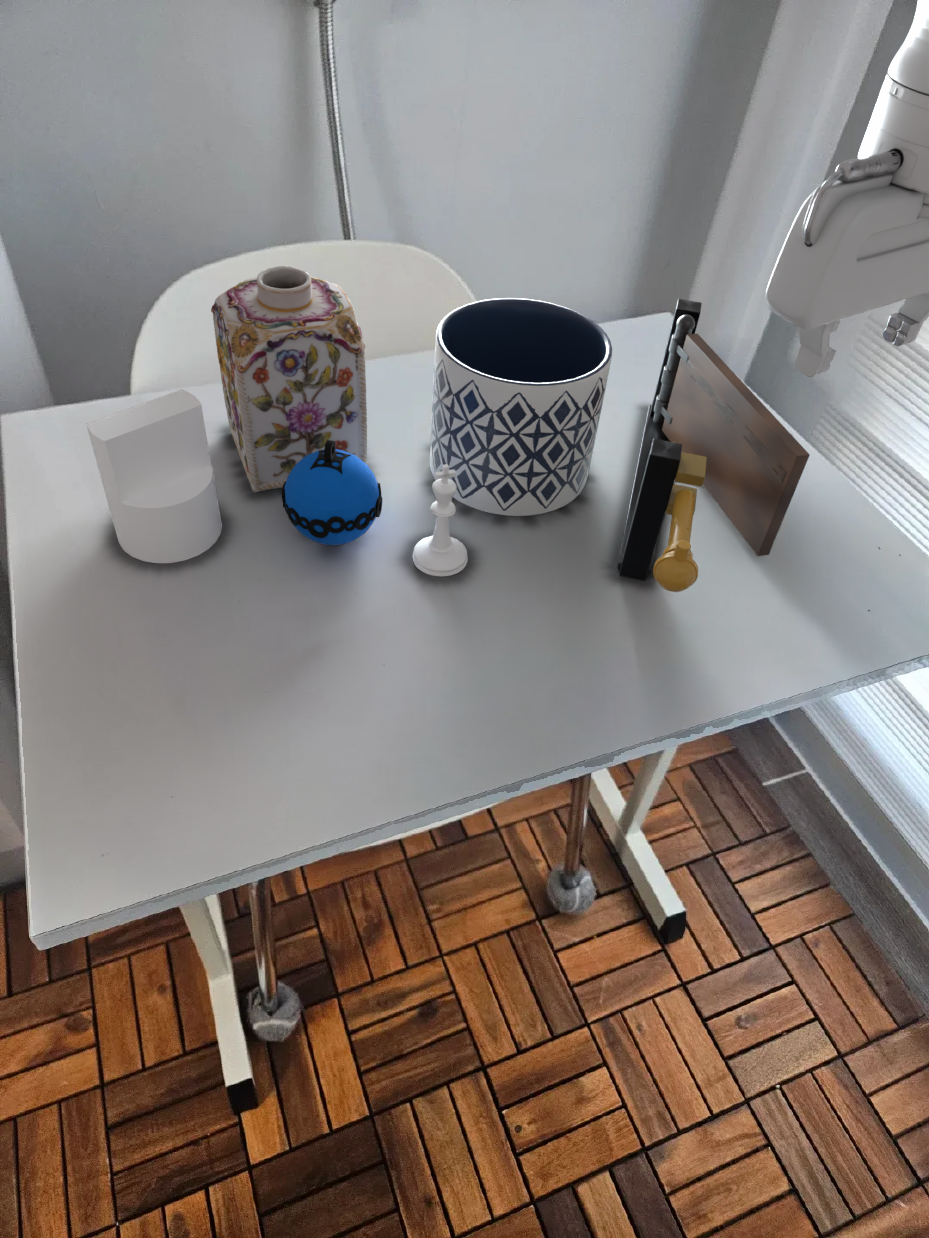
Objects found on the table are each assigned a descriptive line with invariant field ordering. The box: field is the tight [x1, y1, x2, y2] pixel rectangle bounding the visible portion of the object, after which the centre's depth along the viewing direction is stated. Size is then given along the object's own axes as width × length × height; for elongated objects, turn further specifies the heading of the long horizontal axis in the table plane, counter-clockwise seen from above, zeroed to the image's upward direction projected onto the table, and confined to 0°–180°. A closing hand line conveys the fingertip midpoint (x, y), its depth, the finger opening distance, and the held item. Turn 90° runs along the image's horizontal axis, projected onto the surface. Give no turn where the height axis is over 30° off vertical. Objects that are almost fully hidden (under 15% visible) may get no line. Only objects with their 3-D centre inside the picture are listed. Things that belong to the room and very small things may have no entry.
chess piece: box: [412, 464, 469, 577], centre depth 76 cm, size 5×5×10 cm
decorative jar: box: [210, 265, 368, 493], centre depth 83 cm, size 12×12×18 cm
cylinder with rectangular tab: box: [86, 388, 223, 564], centre depth 75 cm, size 9×9×12 cm
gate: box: [653, 315, 811, 557], centre depth 84 cm, size 23×2×12 cm, turn 16°
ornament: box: [280, 440, 383, 546], centre depth 77 cm, size 9×9×10 cm
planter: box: [429, 297, 613, 517], centre depth 84 cm, size 16×16×14 cm
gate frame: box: [616, 298, 707, 582], centre depth 84 cm, size 29×5×13 cm, turn 166°
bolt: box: [652, 490, 699, 593], centre depth 67 cm, size 11×3×4 cm, turn 166°
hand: (854, 355), depth 62 cm, fingers open, 8 cm apart
